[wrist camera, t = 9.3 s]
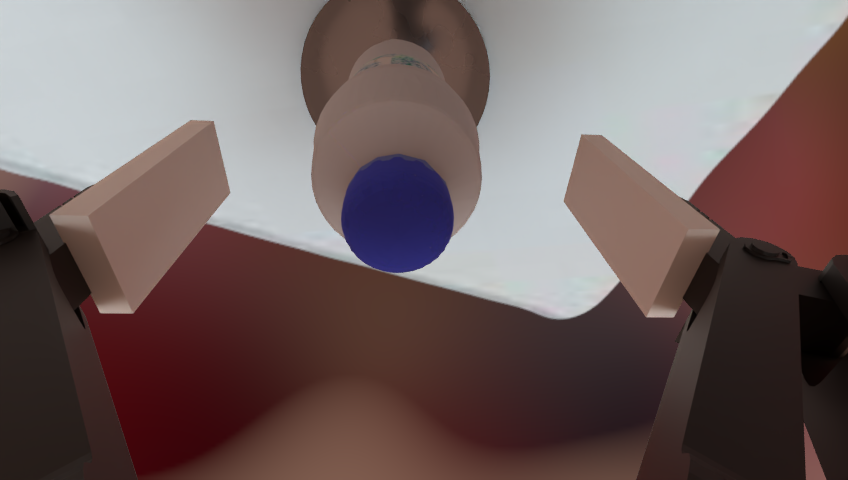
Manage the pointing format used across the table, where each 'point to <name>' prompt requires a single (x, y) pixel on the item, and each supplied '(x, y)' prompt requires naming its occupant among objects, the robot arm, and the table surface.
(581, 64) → the table surface
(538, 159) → the table surface
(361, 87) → the bottle
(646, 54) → the table surface
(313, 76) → the flange disc
